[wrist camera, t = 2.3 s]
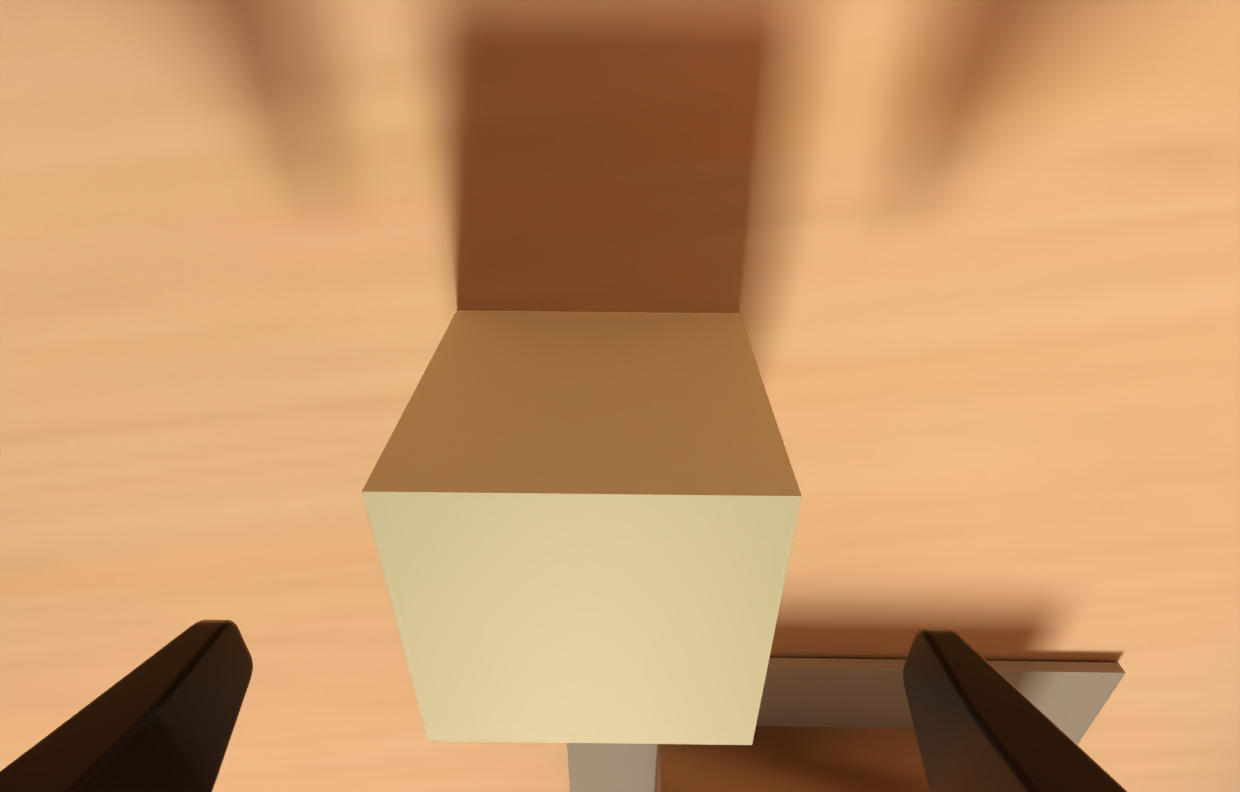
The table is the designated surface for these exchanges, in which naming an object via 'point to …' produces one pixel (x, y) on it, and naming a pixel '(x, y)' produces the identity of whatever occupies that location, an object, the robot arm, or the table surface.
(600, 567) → the cube
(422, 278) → the table surface
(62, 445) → the table surface
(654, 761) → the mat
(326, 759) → the table surface
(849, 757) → the plinth
